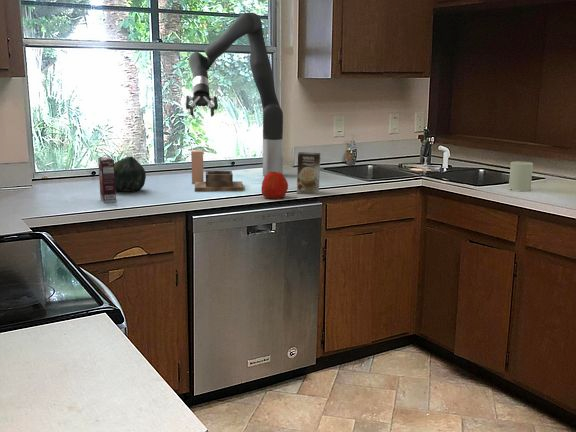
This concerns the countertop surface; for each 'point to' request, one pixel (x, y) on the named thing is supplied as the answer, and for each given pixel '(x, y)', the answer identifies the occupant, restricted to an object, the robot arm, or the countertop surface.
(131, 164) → the squash
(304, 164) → the coffee box
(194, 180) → the terracotta peg
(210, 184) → the sleeve holder
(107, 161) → the supplement box
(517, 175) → the can
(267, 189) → the apple
